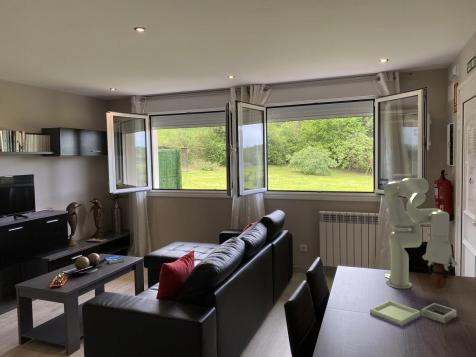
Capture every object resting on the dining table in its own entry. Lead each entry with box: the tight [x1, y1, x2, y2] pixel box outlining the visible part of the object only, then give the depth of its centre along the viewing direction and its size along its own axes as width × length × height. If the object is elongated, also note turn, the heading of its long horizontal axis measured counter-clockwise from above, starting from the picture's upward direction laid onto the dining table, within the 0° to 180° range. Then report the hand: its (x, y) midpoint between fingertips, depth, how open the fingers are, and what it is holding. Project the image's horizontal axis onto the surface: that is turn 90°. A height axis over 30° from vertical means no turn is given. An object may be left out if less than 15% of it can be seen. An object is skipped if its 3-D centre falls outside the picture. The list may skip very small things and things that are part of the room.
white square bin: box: [420, 302, 457, 324], centre depth 170 cm, size 10×11×3 cm
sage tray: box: [369, 300, 421, 327], centre depth 172 cm, size 16×16×2 cm
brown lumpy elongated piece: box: [429, 263, 448, 290], centre depth 169 cm, size 7×6×15 cm
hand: (438, 275), depth 169 cm, fingers closed on brown lumpy elongated piece, 6 cm apart
